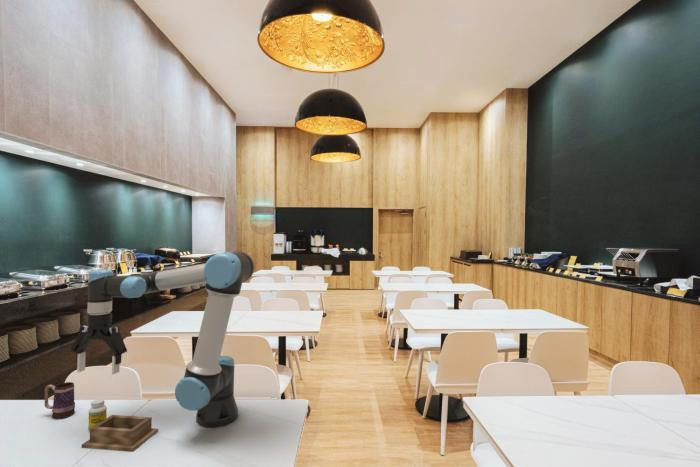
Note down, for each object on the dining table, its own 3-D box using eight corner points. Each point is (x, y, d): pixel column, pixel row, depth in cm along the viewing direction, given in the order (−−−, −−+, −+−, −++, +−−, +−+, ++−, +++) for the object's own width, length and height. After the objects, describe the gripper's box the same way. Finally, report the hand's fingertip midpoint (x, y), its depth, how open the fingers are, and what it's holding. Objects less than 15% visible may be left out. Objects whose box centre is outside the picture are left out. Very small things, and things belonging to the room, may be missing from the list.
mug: (79, 410, 150) (79, 380, 150) (67, 419, 143) (68, 387, 143) (51, 411, 149) (52, 381, 149) (38, 420, 142) (39, 387, 142)
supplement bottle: (106, 423, 140) (106, 396, 140) (106, 429, 136) (107, 402, 136) (88, 427, 137) (89, 400, 137) (88, 433, 133) (88, 405, 133)
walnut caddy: (158, 431, 134) (158, 415, 134) (132, 451, 121) (133, 434, 121) (111, 428, 136) (111, 412, 136) (81, 447, 123) (81, 430, 123)
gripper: (138, 312, 140) (137, 370, 139) (77, 310, 143) (75, 367, 142) (124, 316, 132) (122, 377, 132) (59, 313, 135) (57, 373, 135)
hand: (98, 372), depth 137 cm, fingers open, 13 cm apart
